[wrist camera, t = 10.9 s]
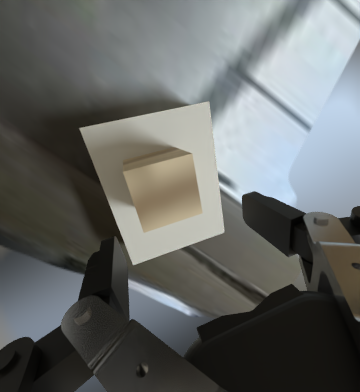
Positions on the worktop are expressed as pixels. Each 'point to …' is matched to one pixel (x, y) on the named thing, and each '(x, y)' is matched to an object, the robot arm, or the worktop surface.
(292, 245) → the robot arm
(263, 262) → the worktop surface
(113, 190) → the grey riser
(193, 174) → the maple block
